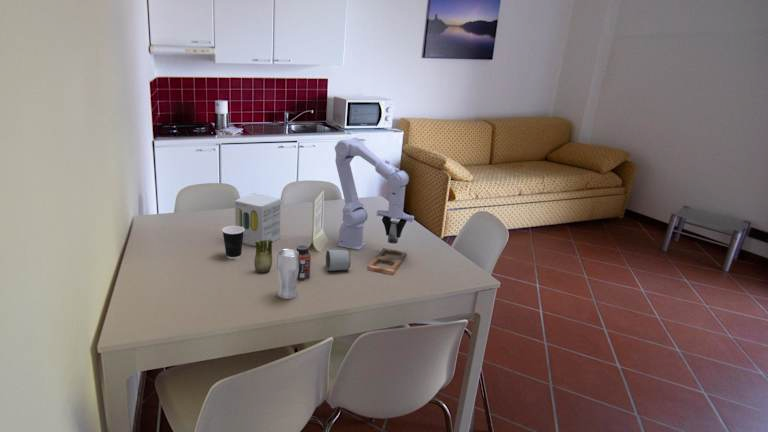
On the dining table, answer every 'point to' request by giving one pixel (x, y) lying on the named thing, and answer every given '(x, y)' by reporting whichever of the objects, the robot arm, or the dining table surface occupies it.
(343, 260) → the ceramic mug
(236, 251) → the dixie cup
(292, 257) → the silver beverage can
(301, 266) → the supplement bottle
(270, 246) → the fennel bulb
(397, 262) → the rail
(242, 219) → the supplement box
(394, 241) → the metal peg
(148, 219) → the dining table surface
